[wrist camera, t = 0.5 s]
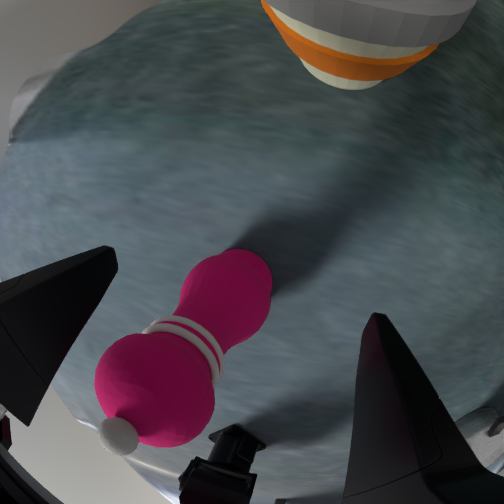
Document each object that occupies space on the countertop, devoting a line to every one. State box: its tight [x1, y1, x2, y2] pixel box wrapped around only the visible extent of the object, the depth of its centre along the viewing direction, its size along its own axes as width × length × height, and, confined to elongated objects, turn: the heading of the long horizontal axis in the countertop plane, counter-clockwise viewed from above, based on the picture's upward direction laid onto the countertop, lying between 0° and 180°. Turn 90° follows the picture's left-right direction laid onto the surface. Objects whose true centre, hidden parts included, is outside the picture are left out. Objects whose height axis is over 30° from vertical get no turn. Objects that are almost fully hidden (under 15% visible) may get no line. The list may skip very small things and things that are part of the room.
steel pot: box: [455, 407, 504, 468], centre depth 21 cm, size 12×18×7 cm
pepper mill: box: [94, 249, 273, 456], centre depth 17 cm, size 7×7×20 cm
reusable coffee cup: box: [261, 0, 477, 90], centre depth 11 cm, size 13×13×15 cm
